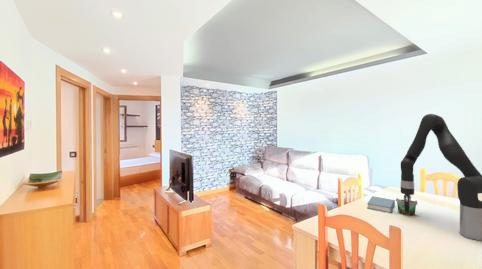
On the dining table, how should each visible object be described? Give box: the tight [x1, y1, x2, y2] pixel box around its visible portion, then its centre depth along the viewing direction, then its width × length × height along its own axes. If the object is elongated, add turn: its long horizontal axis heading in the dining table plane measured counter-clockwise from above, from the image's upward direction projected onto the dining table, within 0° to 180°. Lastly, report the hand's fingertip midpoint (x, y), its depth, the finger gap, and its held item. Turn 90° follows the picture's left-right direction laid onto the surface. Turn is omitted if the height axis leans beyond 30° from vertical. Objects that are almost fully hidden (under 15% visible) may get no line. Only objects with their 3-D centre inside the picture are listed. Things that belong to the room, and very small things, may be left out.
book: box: [367, 195, 396, 214], centre depth 162 cm, size 20×15×4 cm
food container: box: [395, 198, 418, 217], centre depth 147 cm, size 12×6×10 cm, turn 62°
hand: (407, 210), depth 148 cm, fingers closed on food container, 5 cm apart
